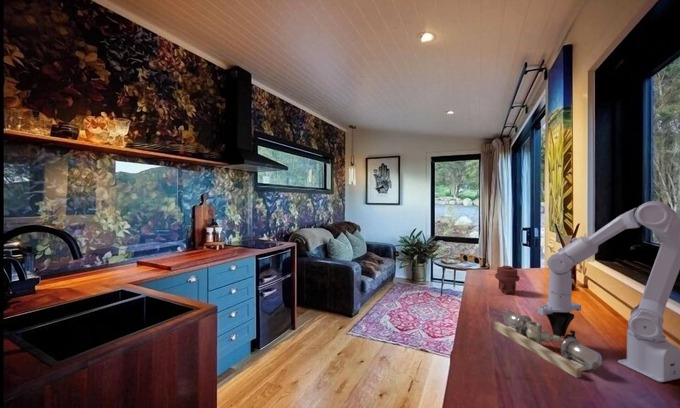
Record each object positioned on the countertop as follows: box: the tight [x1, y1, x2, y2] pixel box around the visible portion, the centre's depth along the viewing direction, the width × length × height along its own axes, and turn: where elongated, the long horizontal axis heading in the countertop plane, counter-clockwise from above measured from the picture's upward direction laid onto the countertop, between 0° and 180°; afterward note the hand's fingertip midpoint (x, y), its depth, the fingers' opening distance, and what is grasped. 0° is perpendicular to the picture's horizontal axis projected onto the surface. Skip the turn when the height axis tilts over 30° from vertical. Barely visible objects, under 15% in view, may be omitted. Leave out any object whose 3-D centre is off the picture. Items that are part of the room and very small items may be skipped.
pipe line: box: [502, 310, 603, 372], centre depth 92 cm, size 29×6×6 cm, turn 13°
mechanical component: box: [494, 265, 521, 295], centre depth 142 cm, size 12×10×10 cm
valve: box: [525, 320, 577, 346], centre depth 91 cm, size 7×7×12 cm
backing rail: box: [493, 321, 582, 379], centre depth 91 cm, size 29×2×2 cm, turn 13°
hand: (558, 335), depth 94 cm, fingers closed
